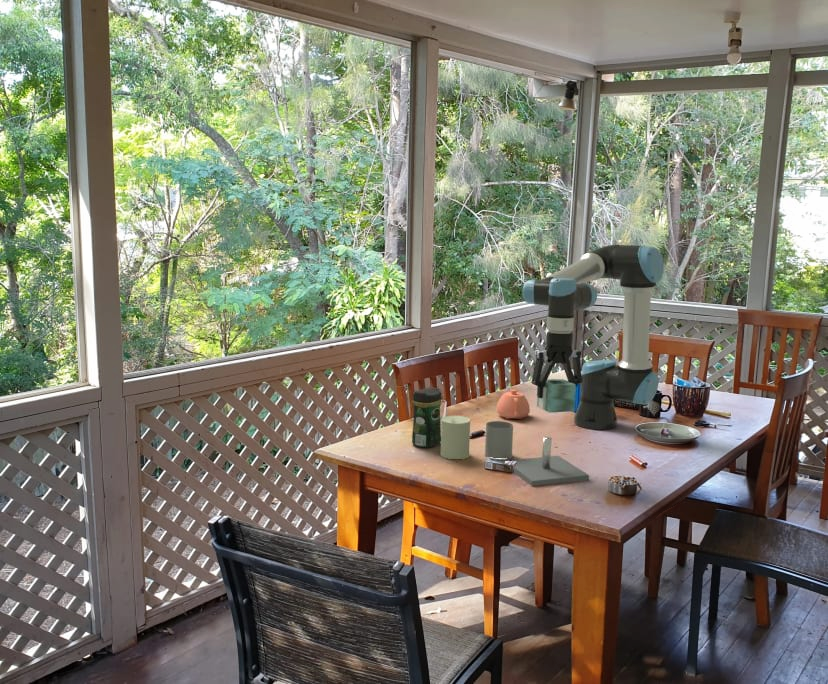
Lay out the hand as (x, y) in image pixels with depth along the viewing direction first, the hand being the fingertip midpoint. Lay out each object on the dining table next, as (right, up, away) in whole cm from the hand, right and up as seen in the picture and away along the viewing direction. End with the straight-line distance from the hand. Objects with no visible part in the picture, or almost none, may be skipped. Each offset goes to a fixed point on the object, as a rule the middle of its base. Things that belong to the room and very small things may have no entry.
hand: (555, 407), depth 226 cm
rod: (-3, -17, -2) cm, 18 cm away
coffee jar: (-38, -14, +23) cm, 46 cm away
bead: (0, 0, 0) cm, 0 cm away
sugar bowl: (-5, -9, +58) cm, 59 cm away
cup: (-15, -16, +13) cm, 26 cm away
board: (-3, -19, -2) cm, 19 cm away
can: (-29, -16, +13) cm, 36 cm away
